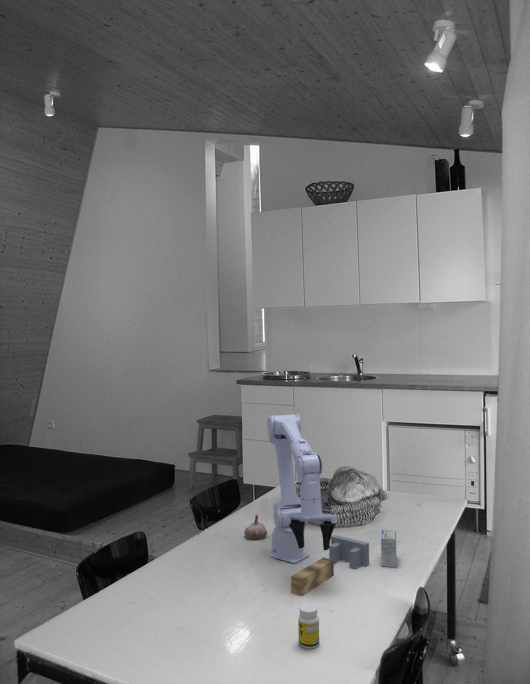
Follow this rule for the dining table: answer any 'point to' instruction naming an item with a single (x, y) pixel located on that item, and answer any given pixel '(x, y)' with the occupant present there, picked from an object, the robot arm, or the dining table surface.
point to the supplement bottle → (308, 626)
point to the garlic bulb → (255, 530)
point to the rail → (312, 576)
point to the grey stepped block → (349, 551)
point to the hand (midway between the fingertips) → (313, 548)
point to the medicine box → (388, 548)
